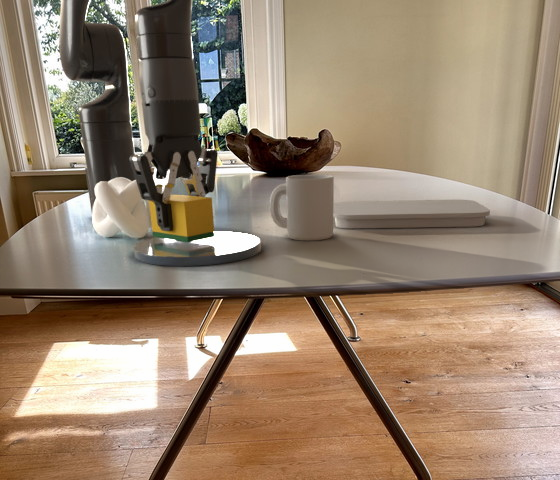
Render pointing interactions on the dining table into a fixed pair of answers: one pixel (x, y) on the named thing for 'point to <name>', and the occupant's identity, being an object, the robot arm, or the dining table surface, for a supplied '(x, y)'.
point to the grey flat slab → (409, 214)
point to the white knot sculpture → (120, 209)
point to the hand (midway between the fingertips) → (182, 227)
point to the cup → (305, 206)
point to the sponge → (186, 219)
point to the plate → (198, 250)
